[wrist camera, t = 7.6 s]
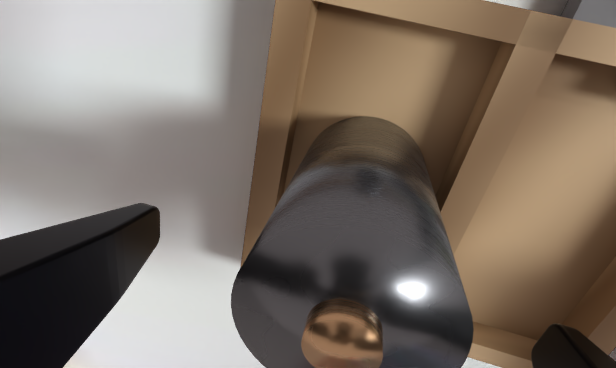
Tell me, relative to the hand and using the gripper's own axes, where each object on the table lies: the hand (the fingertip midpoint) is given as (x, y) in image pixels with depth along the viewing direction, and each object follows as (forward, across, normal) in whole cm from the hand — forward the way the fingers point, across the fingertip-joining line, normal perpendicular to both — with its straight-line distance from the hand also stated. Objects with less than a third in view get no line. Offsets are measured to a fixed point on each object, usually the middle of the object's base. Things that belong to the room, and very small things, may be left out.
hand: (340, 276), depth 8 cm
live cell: (+6, 0, 0) cm, 6 cm away
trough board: (+6, -3, 0) cm, 7 cm away
